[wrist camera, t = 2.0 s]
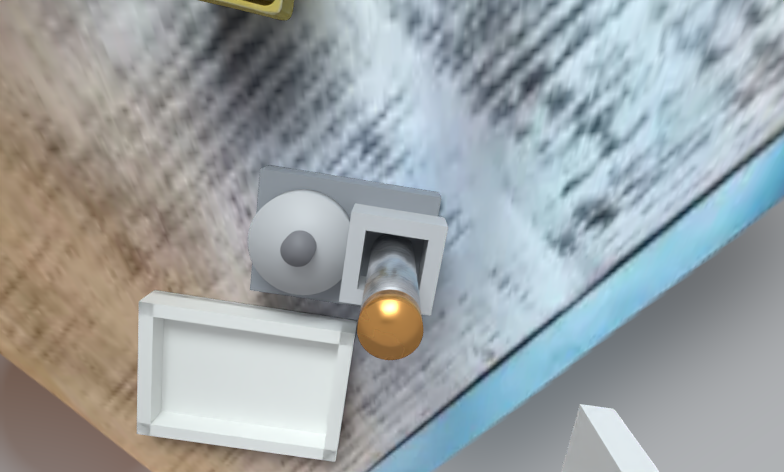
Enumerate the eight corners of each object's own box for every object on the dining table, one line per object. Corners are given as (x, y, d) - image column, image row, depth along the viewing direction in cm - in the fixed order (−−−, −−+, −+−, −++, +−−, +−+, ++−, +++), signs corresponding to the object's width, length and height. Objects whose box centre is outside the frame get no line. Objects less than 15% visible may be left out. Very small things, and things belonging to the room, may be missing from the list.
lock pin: (368, 269, 37) (352, 354, 24) (374, 229, 36) (362, 295, 23) (410, 276, 37) (417, 364, 24) (417, 236, 36) (428, 305, 23)
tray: (151, 416, 44) (136, 433, 41) (154, 290, 40) (138, 301, 38) (338, 442, 44) (335, 461, 42) (357, 320, 41) (354, 333, 38)
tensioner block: (258, 279, 40) (236, 305, 34) (269, 164, 37) (246, 174, 32) (423, 304, 40) (427, 334, 35) (444, 193, 38) (452, 207, 32)
